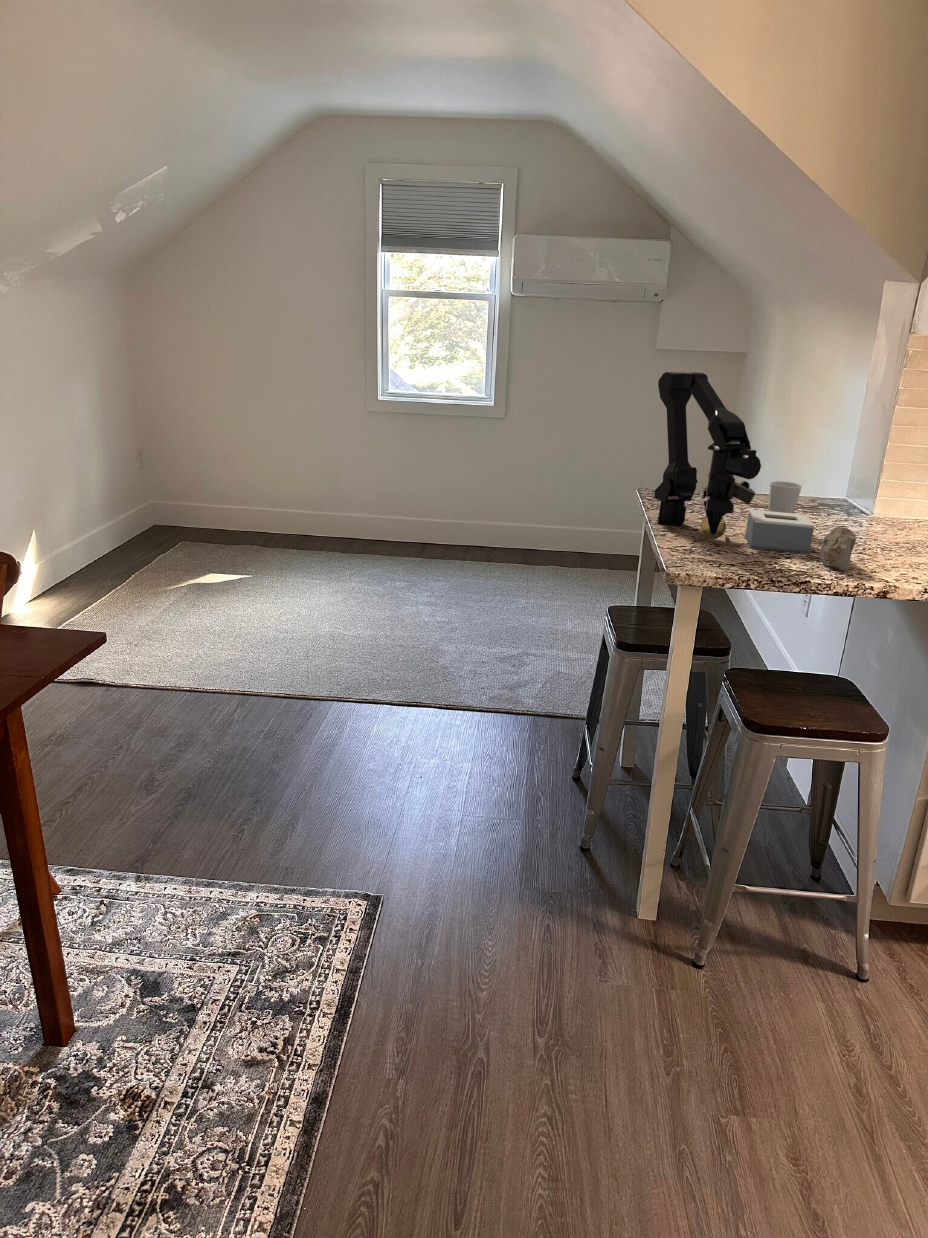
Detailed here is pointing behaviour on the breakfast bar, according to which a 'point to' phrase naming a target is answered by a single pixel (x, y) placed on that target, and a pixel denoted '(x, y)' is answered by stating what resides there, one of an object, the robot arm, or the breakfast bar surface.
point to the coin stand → (725, 538)
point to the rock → (838, 548)
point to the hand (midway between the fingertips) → (712, 532)
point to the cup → (783, 496)
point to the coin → (706, 528)
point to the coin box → (779, 531)
